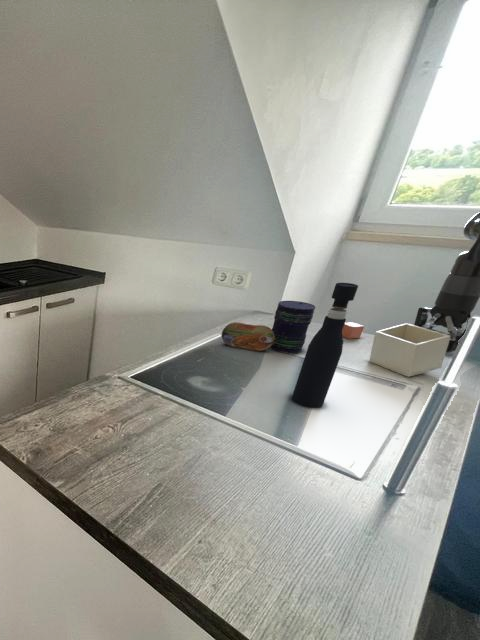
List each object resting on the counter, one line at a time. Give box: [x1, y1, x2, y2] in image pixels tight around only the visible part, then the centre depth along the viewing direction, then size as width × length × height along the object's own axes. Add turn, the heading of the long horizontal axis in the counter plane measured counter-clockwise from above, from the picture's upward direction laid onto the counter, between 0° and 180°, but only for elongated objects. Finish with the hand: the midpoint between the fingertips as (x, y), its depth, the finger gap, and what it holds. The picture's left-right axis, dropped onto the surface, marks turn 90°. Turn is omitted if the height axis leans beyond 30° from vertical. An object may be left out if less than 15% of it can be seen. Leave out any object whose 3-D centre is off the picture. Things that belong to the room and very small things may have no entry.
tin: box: [221, 321, 275, 352], centre depth 129 cm, size 15×3×8 cm, turn 55°
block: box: [342, 321, 365, 340], centre depth 137 cm, size 4×4×4 cm
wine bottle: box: [291, 282, 359, 409], centre depth 92 cm, size 6×6×30 cm
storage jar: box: [269, 300, 316, 354], centre depth 127 cm, size 10×10×15 cm
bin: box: [368, 322, 451, 378], centre depth 112 cm, size 14×11×10 cm
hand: (433, 347), depth 113 cm, fingers closed on bin, 6 cm apart
